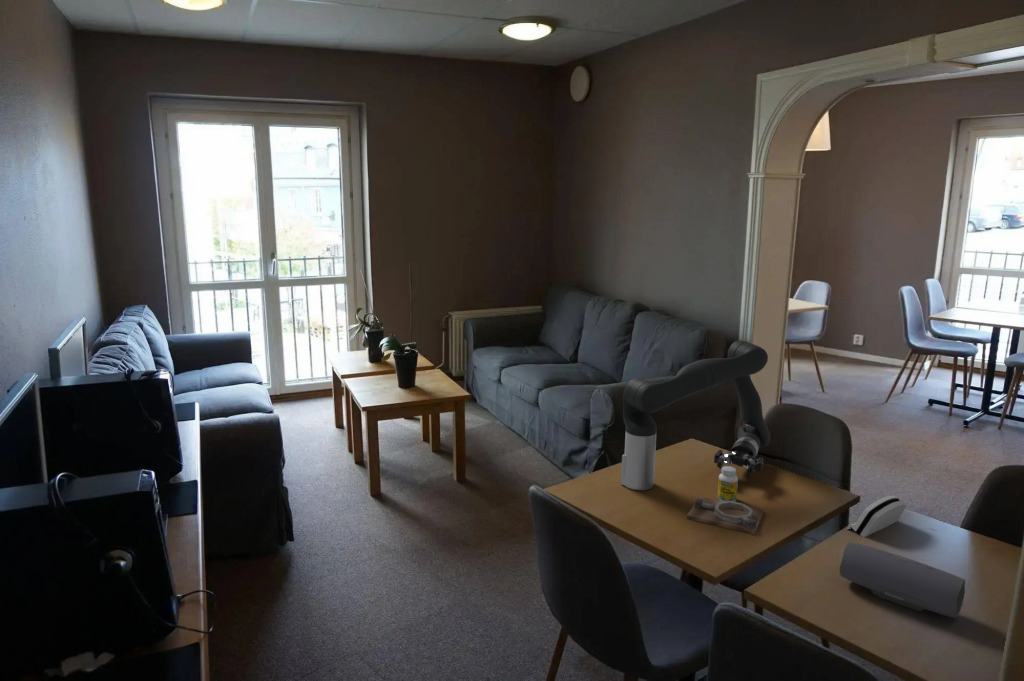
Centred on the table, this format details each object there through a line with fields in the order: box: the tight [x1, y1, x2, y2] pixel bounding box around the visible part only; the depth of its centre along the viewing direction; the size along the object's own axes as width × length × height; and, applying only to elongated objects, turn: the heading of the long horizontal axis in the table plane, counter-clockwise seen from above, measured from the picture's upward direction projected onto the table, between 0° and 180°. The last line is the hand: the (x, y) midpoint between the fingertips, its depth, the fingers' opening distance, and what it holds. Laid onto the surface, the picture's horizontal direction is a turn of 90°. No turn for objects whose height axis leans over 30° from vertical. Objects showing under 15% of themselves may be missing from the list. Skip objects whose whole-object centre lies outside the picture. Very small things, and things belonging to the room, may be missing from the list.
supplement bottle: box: [717, 465, 739, 502], centre depth 199 cm, size 5×5×10 cm
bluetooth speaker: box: [839, 541, 966, 619], centre depth 150 cm, size 23×9×10 cm, turn 46°
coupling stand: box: [686, 495, 765, 535], centre depth 189 cm, size 18×14×3 cm
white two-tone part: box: [846, 495, 907, 538], centre depth 183 cm, size 17×5×10 cm, turn 123°
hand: (734, 468), depth 206 cm, fingers open, 8 cm apart
